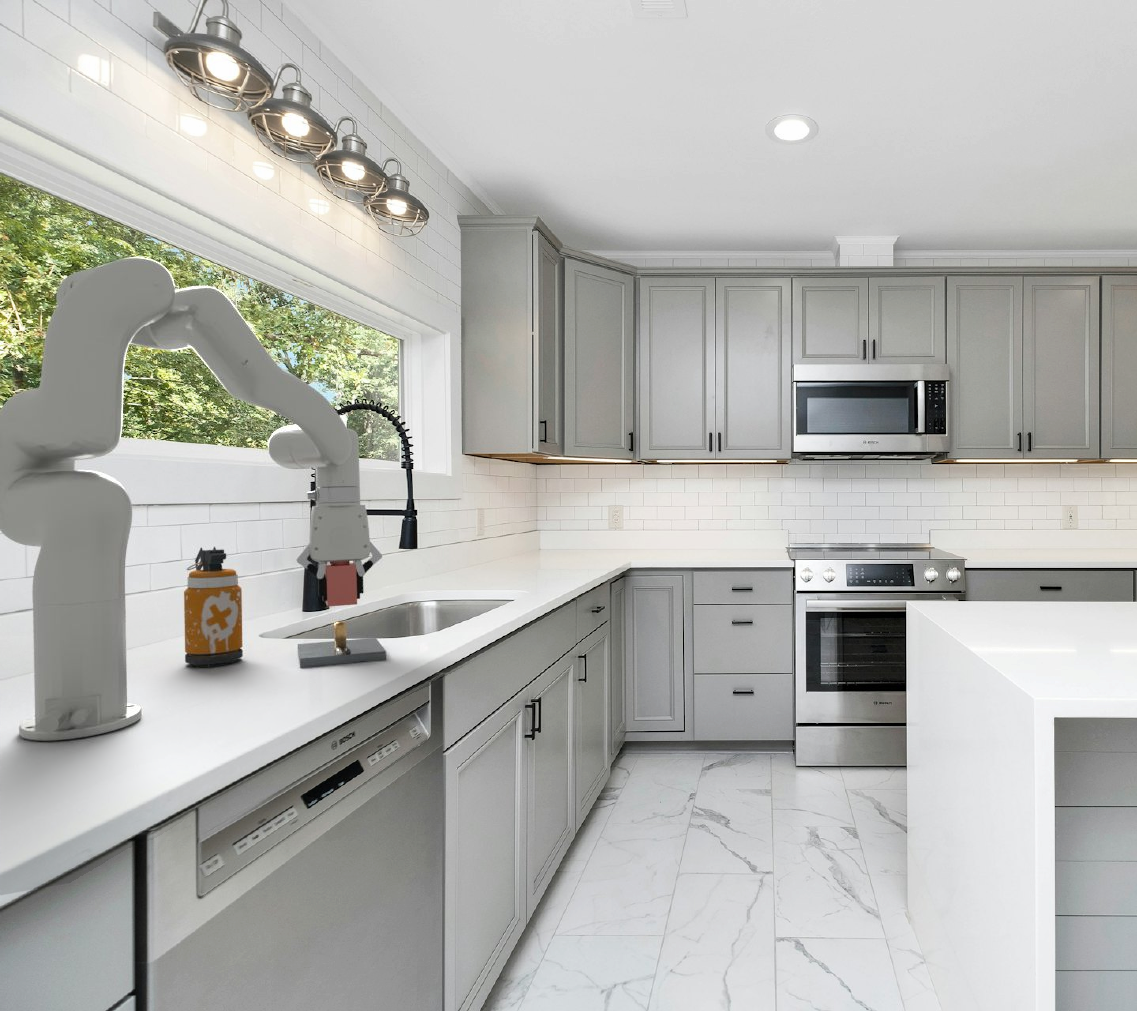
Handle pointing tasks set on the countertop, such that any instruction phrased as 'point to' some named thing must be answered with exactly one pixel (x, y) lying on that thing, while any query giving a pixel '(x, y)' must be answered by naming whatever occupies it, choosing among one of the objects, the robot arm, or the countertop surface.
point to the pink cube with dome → (341, 583)
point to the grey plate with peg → (340, 650)
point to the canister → (212, 612)
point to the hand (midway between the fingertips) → (341, 598)
